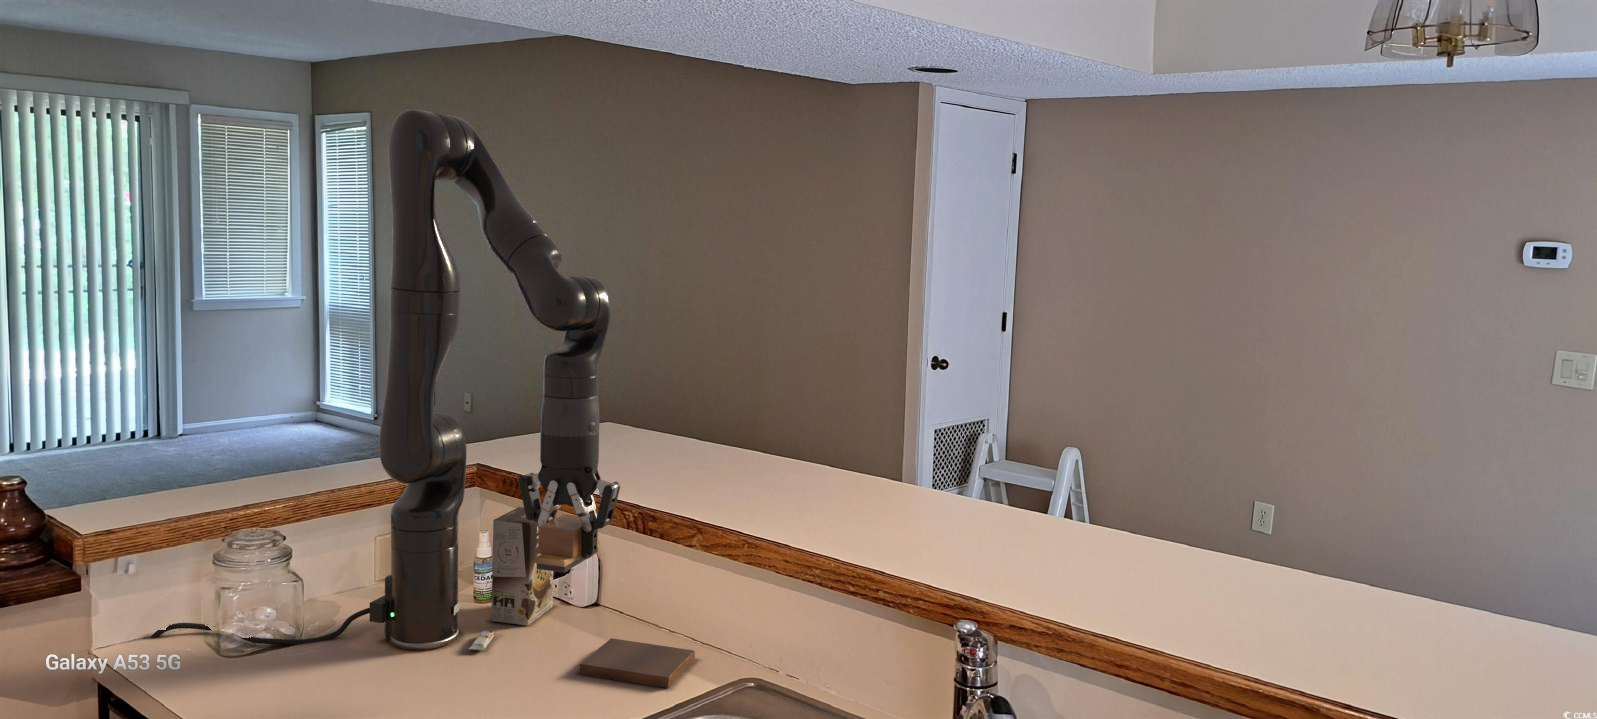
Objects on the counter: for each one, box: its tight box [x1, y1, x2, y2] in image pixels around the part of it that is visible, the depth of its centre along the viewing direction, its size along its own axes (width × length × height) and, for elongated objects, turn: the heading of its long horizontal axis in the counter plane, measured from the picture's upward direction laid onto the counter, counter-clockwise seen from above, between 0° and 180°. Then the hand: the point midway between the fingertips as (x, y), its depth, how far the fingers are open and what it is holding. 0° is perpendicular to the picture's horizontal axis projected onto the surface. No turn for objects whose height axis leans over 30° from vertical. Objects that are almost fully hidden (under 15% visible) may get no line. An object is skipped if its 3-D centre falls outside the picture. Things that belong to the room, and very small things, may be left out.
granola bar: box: [468, 630, 498, 651], centre depth 154 cm, size 7×2×1 cm, turn 1°
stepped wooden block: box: [535, 513, 600, 574], centre depth 141 cm, size 10×5×5 cm, turn 164°
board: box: [579, 637, 696, 689], centre depth 149 cm, size 13×10×2 cm
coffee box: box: [491, 506, 554, 627], centre depth 166 cm, size 9×6×16 cm
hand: (568, 554), depth 141 cm, fingers closed on stepped wooden block, 5 cm apart
